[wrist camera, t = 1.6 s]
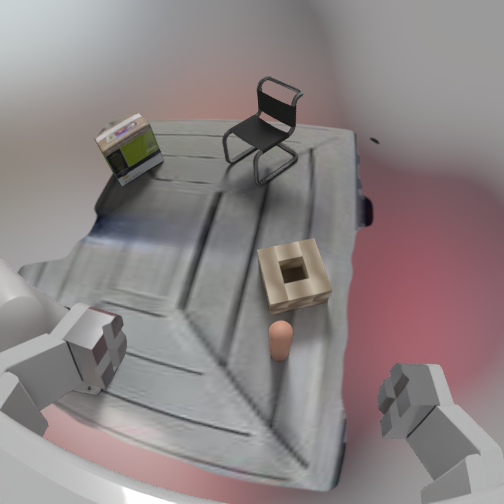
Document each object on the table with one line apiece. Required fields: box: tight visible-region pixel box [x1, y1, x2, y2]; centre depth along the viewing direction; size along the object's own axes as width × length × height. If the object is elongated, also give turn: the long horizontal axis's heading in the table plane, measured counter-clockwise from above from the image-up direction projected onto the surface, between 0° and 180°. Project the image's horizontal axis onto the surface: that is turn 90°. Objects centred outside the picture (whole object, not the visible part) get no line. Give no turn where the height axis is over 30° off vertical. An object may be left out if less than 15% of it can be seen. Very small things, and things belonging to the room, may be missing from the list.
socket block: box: [257, 238, 332, 315], centre depth 63 cm, size 12×12×6 cm
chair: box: [222, 76, 303, 185], centre depth 75 cm, size 13×17×22 cm
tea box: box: [94, 113, 164, 186], centre depth 82 cm, size 15×10×15 cm, turn 128°
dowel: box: [269, 321, 293, 361], centre depth 52 cm, size 4×4×15 cm
